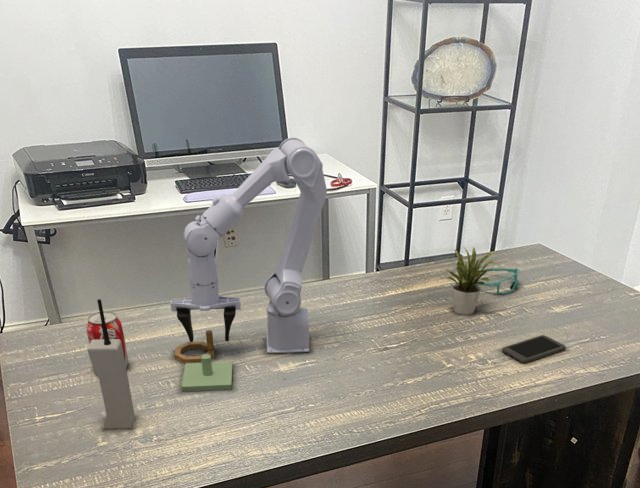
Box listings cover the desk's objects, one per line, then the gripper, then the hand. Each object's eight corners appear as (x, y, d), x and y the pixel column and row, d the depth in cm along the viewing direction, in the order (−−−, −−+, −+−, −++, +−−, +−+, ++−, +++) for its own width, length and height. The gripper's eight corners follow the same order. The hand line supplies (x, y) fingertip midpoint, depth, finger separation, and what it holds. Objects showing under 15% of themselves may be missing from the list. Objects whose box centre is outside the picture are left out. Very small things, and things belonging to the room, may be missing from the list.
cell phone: (500, 350, 156) (500, 347, 155) (543, 337, 162) (543, 334, 162) (523, 363, 150) (524, 360, 150) (566, 349, 157) (567, 346, 156)
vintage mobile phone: (108, 418, 129) (82, 295, 115) (135, 418, 129) (113, 294, 115) (104, 429, 126) (77, 303, 112) (131, 429, 126) (108, 303, 112)
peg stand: (232, 366, 147) (231, 344, 144) (231, 389, 139) (229, 367, 136) (185, 368, 146) (183, 346, 143) (181, 391, 138) (178, 369, 135)
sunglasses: (507, 298, 181) (508, 280, 179) (456, 291, 189) (456, 274, 186) (526, 282, 191) (527, 265, 189) (477, 276, 199) (477, 259, 196)
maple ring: (215, 345, 155) (213, 323, 152) (213, 363, 148) (211, 339, 145) (177, 347, 154) (174, 324, 151) (173, 364, 147) (170, 341, 144)
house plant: (505, 308, 176) (515, 247, 167) (484, 327, 166) (493, 262, 157) (455, 296, 182) (462, 236, 173) (432, 313, 173) (438, 250, 164)
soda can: (136, 364, 147) (127, 312, 140) (116, 379, 141) (106, 326, 135) (108, 358, 149) (98, 307, 142) (88, 373, 143) (76, 321, 137)
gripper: (166, 288, 138) (174, 348, 145) (238, 287, 139) (242, 346, 147) (169, 276, 144) (177, 334, 151) (239, 274, 145) (242, 332, 153)
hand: (209, 339), depth 149 cm, fingers open, 7 cm apart
